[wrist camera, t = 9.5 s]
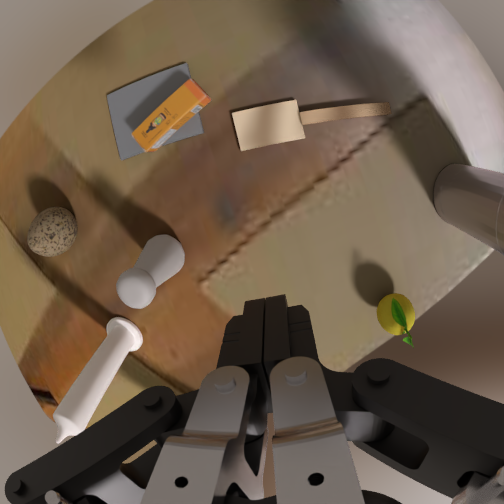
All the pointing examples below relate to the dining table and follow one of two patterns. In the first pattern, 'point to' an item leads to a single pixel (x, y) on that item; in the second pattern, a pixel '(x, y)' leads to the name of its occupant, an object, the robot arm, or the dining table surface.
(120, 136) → the mat
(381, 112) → the turner
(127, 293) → the salt shaker
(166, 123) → the supplement box
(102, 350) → the candle
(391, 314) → the lemon
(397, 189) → the dining table surface
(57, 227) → the decorative egg
